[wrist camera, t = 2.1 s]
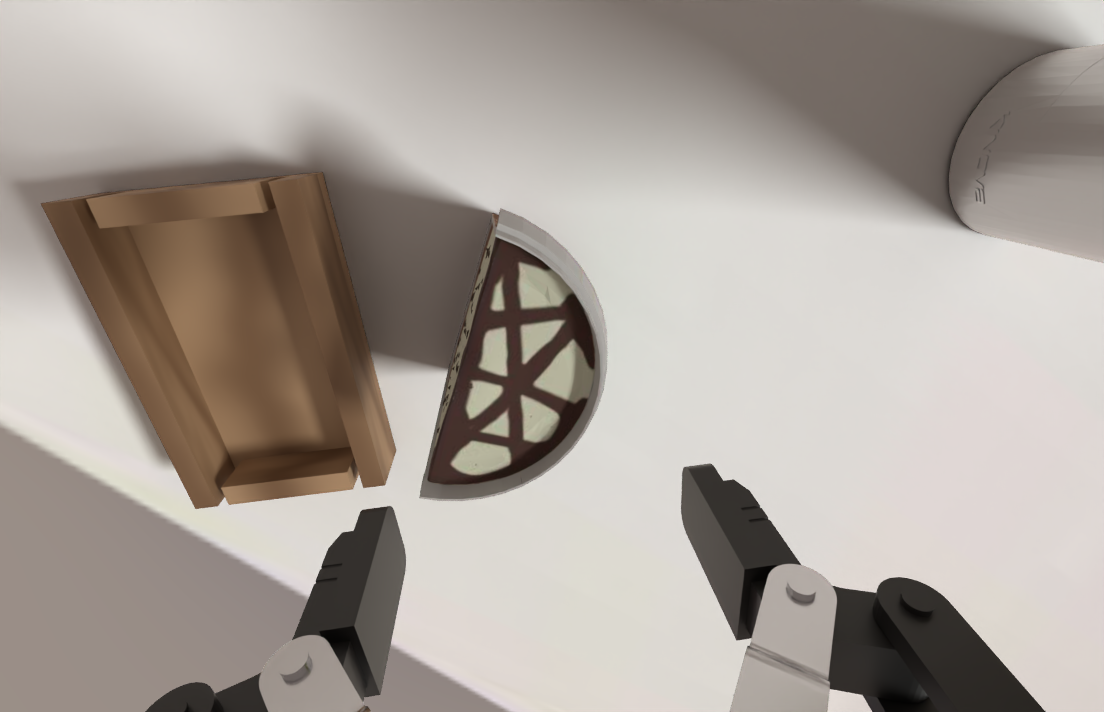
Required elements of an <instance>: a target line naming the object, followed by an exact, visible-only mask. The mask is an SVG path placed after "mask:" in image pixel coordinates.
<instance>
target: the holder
mask: <svg viewBox="0 0 1104 712" xmlns="http://www.w3.org/2000/svg"><path fill="white" fill-rule="evenodd" d="M41 205H42V207H43V209H44V211H45V213H46V215H47V217H48V219H49V221H50V223H51V225H52V227H53V229H54V231H55V233H56V235H57V237H58V239H59V241H60V243H61V245H62V247H63V249H64V250H65V252H66V254H67V256H68V258H69V260H70V262H71V264H72V266H73V268H74V270H75V272H76V274H77V276H78V278H79V280H80V282H81V284H82V286H83V288H84V290H85V292H86V294H87V296H88V298H89V300H90V302H91V304H92V306H93V308H94V310H95V312H96V314H97V316H98V318H99V319H100V321H101V323H102V325H103V327H104V329H105V331H106V333H107V335H108V337H109V339H110V341H111V343H112V345H113V347H114V349H115V351H116V353H117V355H118V357H119V359H120V361H121V363H122V365H123V367H124V369H125V371H126V373H127V375H128V377H129V379H130V381H131V383H132V385H133V386H134V388H135V390H136V392H137V394H138V396H139V398H140V400H141V402H142V404H143V406H144V408H145V410H146V412H147V414H148V416H149V418H150V420H151V422H152V424H153V426H154V428H155V430H156V432H157V434H158V436H159V438H160V440H161V442H162V444H163V446H164V448H165V450H166V452H167V454H168V455H169V457H170V459H171V461H172V463H173V465H174V467H175V469H176V471H177V473H178V475H179V477H180V479H181V481H182V483H183V485H184V487H185V489H186V491H187V493H188V495H189V497H190V499H191V501H192V503H193V505H194V507H195V509H199V508H207V507H215V506H218V505H219V504H220V502H221V501H222V500H223V498H224V497H225V498H226V500H227V502H228V504H229V505H231V504H239V503H247V502H255V501H263V500H271V499H279V498H287V497H295V496H303V495H311V494H319V493H327V492H335V491H343V490H351V489H353V487H354V485H355V482H356V480H357V478H358V475H360V478H361V481H362V485H363V488H367V487H375V486H383V485H385V484H386V481H387V478H388V474H389V471H390V468H391V465H392V462H393V459H394V456H395V453H396V448H395V444H394V440H393V437H392V433H391V429H390V425H389V421H388V418H387V414H386V410H385V406H384V403H383V399H382V395H381V391H380V388H379V384H378V380H377V376H376V372H375V369H374V365H373V361H372V357H371V354H370V350H369V346H368V342H367V338H366V335H365V331H364V327H363V323H362V320H361V316H360V312H359V308H358V304H357V301H356V297H355V293H354V289H353V286H352V282H351V278H350V274H349V270H348V267H347V263H346V259H345V255H344V252H343V248H342V244H341V240H340V236H339V233H338V229H337V225H336V221H335V218H334V214H333V210H332V206H331V202H330V199H329V195H328V191H327V187H326V184H325V180H324V176H323V172H319V173H308V174H298V175H287V176H277V177H266V178H255V179H245V180H234V181H224V182H213V183H203V184H192V185H182V186H171V187H160V188H150V189H139V190H129V191H118V192H108V193H98V194H92V195H87V196H81V197H75V198H70V199H64V200H58V201H52V202H47V203H41Z"/></svg>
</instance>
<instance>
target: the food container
mask: <svg viewBox="0 0 1104 712" xmlns="http://www.w3.org/2000/svg"><path fill="white" fill-rule="evenodd" d="M606 371H607V330H606V325H605V320H604V315H603V310H602V307H601V305H600V302H599V299H598V297H597V294H596V292H595V289H594V287H593V285H592V284H591V282H590V280H589V279H588V277H587V275H586V274H585V272H584V270H583V269H582V267H581V266H580V265H579V264H578V262H577V261H576V260H575V259H574V258H573V257H572V255H571V254H570V253H569V252H568V251H567V249H566V248H564V247H563V246H562V245H561V244H560V243H559V242H557V241H556V240H555V239H554V238H553V237H552V236H550V235H549V234H548V233H547V232H546V231H544V230H542V229H541V228H539V227H537V226H536V225H534V224H533V223H531V222H529V221H528V220H526V219H524V218H522V217H520V216H518V215H515V214H513V213H511V212H508V211H506V210H503V209H500V212H499V215H497V214H494V213H492V217H491V220H490V224H489V227H488V231H487V234H486V238H485V241H484V245H483V249H482V252H481V256H480V259H479V263H478V266H477V270H476V273H475V277H474V280H473V284H472V287H471V291H470V294H469V298H468V302H467V305H466V309H465V312H464V316H463V319H462V323H461V326H460V330H459V333H458V337H457V340H456V344H455V348H454V351H453V355H452V358H451V362H450V365H449V369H448V373H447V378H446V382H445V386H444V391H443V395H442V400H441V404H440V408H439V413H438V417H437V422H436V426H435V431H434V435H433V439H432V444H431V448H430V453H429V457H428V462H427V466H426V470H425V473H424V476H423V481H422V486H421V491H420V497H419V498H422V499H430V500H437V501H465V500H474V499H483V498H487V497H491V496H495V495H499V494H503V493H506V492H509V491H511V490H514V489H516V488H519V487H522V486H524V485H526V484H528V483H529V482H531V481H533V480H535V479H537V478H539V477H540V476H542V475H543V474H545V473H546V472H547V471H549V470H550V469H551V468H553V467H554V466H556V465H557V464H558V463H559V462H560V461H561V460H562V459H563V458H564V457H565V456H566V455H567V454H568V453H569V452H570V451H571V450H572V449H573V448H574V446H575V445H576V444H577V442H578V441H579V440H580V438H581V437H582V436H583V434H584V432H585V431H586V429H587V427H588V425H589V424H590V422H591V420H592V418H593V416H594V414H595V412H596V410H597V408H598V405H599V402H600V399H601V396H602V393H603V390H604V384H605V378H606Z"/></svg>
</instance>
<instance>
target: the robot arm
mask: <svg viewBox="0 0 1104 712" xmlns="http://www.w3.org/2000/svg"><path fill="white" fill-rule="evenodd" d="M949 192H950V197H951V201H952V204H953V207H954V210H955V211H956V213H957V214H958V216H959V218H960V219H961V221H962V222H963V223H965V224H966V225H967V226H968V227H970V228H971V229H972V230H974V231H976V232H979V233H981V234H984V235H987V236H991V237H995V238H1000V239H1004V240H1008V241H1013V242H1017V243H1021V244H1025V245H1030V246H1034V247H1038V248H1043V249H1047V250H1051V251H1054V252H1058V253H1063V254H1067V255H1071V256H1076V257H1080V258H1084V259H1088V260H1093V261H1097V262H1101V263H1104V44H1103V45H1095V46H1087V47H1080V48H1072V49H1064V50H1057V51H1054V52H1050V53H1047V54H1044V55H1041V56H1038V57H1036V58H1034V59H1032V60H1030V61H1028V62H1026V63H1024V64H1023V65H1021V66H1019V67H1017V68H1016V69H1015V70H1013V71H1012V72H1011V73H1009V74H1008V75H1007V76H1006V77H1004V78H1003V79H1002V80H1000V81H999V82H998V83H997V84H996V85H995V86H994V87H993V88H992V89H991V90H990V91H989V93H988V94H987V95H986V96H985V97H984V98H983V99H982V100H981V102H980V103H979V104H978V106H977V107H976V109H975V110H974V111H973V113H972V114H971V115H970V117H969V118H968V120H967V122H966V124H965V126H964V128H963V130H962V132H961V134H960V136H959V138H958V141H957V143H956V146H955V149H954V152H953V155H952V159H951V165H950V172H949ZM681 514H682V520H683V525H684V528H685V531H686V533H687V536H688V538H689V540H690V542H691V544H692V546H693V548H694V550H695V553H696V555H697V557H698V559H699V561H700V563H701V565H702V568H703V570H704V572H705V574H706V576H707V578H708V580H709V583H710V585H711V587H712V589H713V591H714V593H715V595H716V597H717V600H718V602H719V604H720V606H721V608H722V610H723V612H724V615H725V617H726V619H727V621H728V623H729V625H730V627H731V629H732V632H733V634H734V636H735V638H736V640H742V639H749V638H752V639H751V643H750V646H748V647H747V649H746V652H745V656H744V660H743V663H742V667H741V671H740V675H739V678H738V682H737V686H736V690H735V693H734V697H733V701H732V705H731V709H730V712H827V710H828V701H829V691H830V689H833V690H839V691H844V692H850V693H855V694H861V695H863V696H864V698H865V700H866V702H867V703H868V705H869V707H870V708H871V710H872V712H1045V711H1044V710H1043V708H1042V707H1041V706H1040V705H1039V704H1038V703H1037V702H1036V700H1035V699H1034V698H1033V697H1032V696H1031V695H1030V694H1029V692H1028V691H1027V690H1026V689H1025V688H1024V687H1023V686H1022V684H1021V683H1020V682H1019V681H1018V680H1017V679H1016V678H1015V676H1014V675H1013V674H1012V673H1011V672H1010V671H1009V670H1008V668H1007V667H1006V666H1005V665H1004V664H1003V663H1002V662H1001V661H1000V659H999V658H998V657H997V656H996V655H995V654H994V653H993V651H992V650H991V649H990V648H989V647H988V646H987V645H986V643H985V642H984V641H983V640H982V639H981V638H980V637H979V635H978V634H977V633H976V632H975V631H974V630H973V629H972V627H971V626H970V625H969V624H968V623H967V622H966V621H965V619H964V618H963V617H962V616H961V615H960V614H959V613H958V611H957V610H956V609H955V608H954V607H953V606H952V605H951V603H950V602H949V601H948V600H947V599H946V598H945V597H944V596H943V595H941V594H940V593H939V592H937V591H936V590H934V589H933V588H931V587H929V586H928V585H926V584H923V583H921V582H919V581H916V580H912V579H908V578H901V577H896V578H889V579H886V580H884V581H883V582H881V584H880V585H879V586H878V589H877V593H873V592H865V591H858V590H850V589H844V588H839V587H835V586H832V585H831V584H830V582H829V581H828V580H827V579H826V578H825V577H823V576H822V575H821V574H819V573H818V572H816V571H814V570H813V569H811V568H808V567H805V566H802V565H801V564H800V563H799V561H798V560H797V558H796V557H795V555H794V554H793V553H792V551H791V550H790V548H789V547H788V545H787V544H786V542H785V541H784V540H783V538H782V537H781V535H780V534H779V532H778V531H777V530H776V528H775V527H774V525H773V524H772V522H771V521H770V520H768V517H767V515H766V514H765V512H764V511H763V509H762V508H760V505H759V504H758V502H757V501H756V499H755V498H754V497H753V495H752V494H751V492H750V491H749V490H748V489H746V488H745V487H743V486H742V485H741V484H739V483H738V482H736V481H735V480H727V481H723V480H722V478H721V477H720V475H719V474H718V472H717V470H716V469H715V467H714V466H713V465H712V464H704V465H696V466H689V467H684V468H683V473H682V500H681ZM405 568H406V555H405V548H404V544H403V541H402V537H401V534H400V530H399V527H398V523H397V520H396V516H395V513H394V510H393V508H392V507H391V506H388V507H380V508H373V509H365V510H362V511H361V512H360V515H359V517H358V520H357V523H356V526H355V529H354V531H350V532H343V533H342V534H341V535H340V536H339V537H338V538H337V539H336V541H335V542H334V543H333V544H332V545H331V546H330V547H329V549H328V551H327V553H326V556H325V559H324V561H323V564H322V569H321V570H320V571H319V574H318V576H317V579H316V584H314V586H313V589H312V591H311V594H310V597H309V599H308V602H307V604H306V607H305V609H304V612H303V614H302V617H301V619H300V622H299V624H298V627H297V630H296V632H295V635H294V637H293V639H292V641H290V642H288V643H287V644H285V645H284V646H282V647H281V648H280V649H278V651H276V652H275V653H274V654H273V655H272V656H271V658H270V659H269V660H268V661H267V663H266V664H265V666H264V668H263V670H262V672H261V673H259V674H258V675H256V676H254V677H252V678H250V679H247V680H245V681H243V682H240V683H238V684H236V685H234V686H231V687H229V688H227V689H225V690H222V691H220V692H218V693H214V692H213V690H212V689H211V687H210V686H208V685H207V684H205V683H198V682H195V683H189V684H186V685H183V686H180V687H178V688H176V689H174V690H172V691H170V692H169V693H167V694H165V695H164V696H162V697H161V698H160V699H158V700H157V701H156V702H155V703H154V704H153V705H151V706H150V707H149V708H148V710H147V711H146V712H371V710H370V709H369V708H368V707H367V706H366V707H365V705H364V704H363V701H364V697H369V696H375V695H380V693H381V688H382V684H383V679H384V674H385V669H386V663H387V659H388V653H389V649H390V644H391V639H392V634H393V629H394V624H395V619H396V614H397V609H398V605H399V600H400V595H401V590H402V585H403V580H404V575H405Z"/></svg>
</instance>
